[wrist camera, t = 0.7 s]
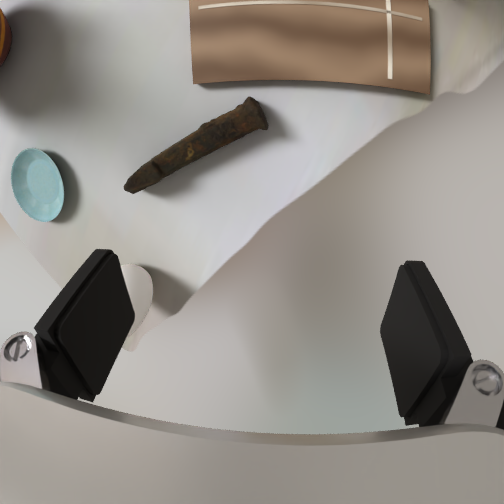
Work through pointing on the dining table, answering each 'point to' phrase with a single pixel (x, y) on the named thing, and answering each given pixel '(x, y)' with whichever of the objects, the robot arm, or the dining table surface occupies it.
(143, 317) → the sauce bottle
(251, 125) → the hand tool
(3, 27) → the jug
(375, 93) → the dining table surface
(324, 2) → the board
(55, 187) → the saucer
